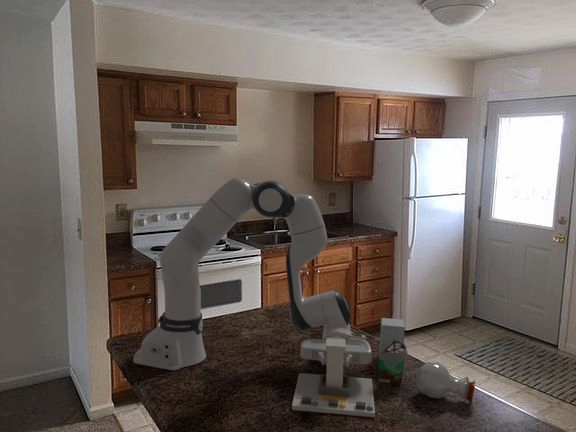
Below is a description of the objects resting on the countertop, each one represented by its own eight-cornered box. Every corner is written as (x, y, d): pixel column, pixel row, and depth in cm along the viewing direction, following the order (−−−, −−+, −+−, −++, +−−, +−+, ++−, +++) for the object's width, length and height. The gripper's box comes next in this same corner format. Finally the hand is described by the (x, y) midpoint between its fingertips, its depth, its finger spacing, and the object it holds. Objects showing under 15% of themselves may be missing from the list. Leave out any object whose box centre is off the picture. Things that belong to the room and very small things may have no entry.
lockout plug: (324, 388, 127) (325, 345, 125) (325, 379, 132) (326, 337, 130) (343, 389, 126) (345, 346, 124) (343, 380, 131) (345, 339, 129)
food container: (398, 391, 130) (400, 357, 129) (377, 385, 134) (378, 352, 132) (411, 374, 141) (413, 343, 140) (392, 369, 144) (393, 338, 143)
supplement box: (403, 365, 147) (405, 327, 145) (378, 363, 148) (380, 325, 147) (402, 356, 154) (404, 319, 152) (379, 353, 155) (381, 317, 154)
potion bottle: (412, 393, 132) (468, 412, 127) (411, 388, 124) (471, 407, 118) (420, 361, 136) (474, 378, 130) (419, 354, 128) (477, 371, 122)
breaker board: (291, 409, 120) (292, 398, 120) (299, 377, 138) (299, 366, 137) (374, 417, 118) (375, 405, 117) (371, 382, 135) (371, 372, 135)
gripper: (302, 330, 142) (297, 349, 128) (370, 335, 139) (373, 355, 125) (301, 350, 142) (296, 371, 129) (369, 355, 140) (372, 377, 126)
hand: (335, 363), depth 127 cm, fingers closed on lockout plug, 4 cm apart
